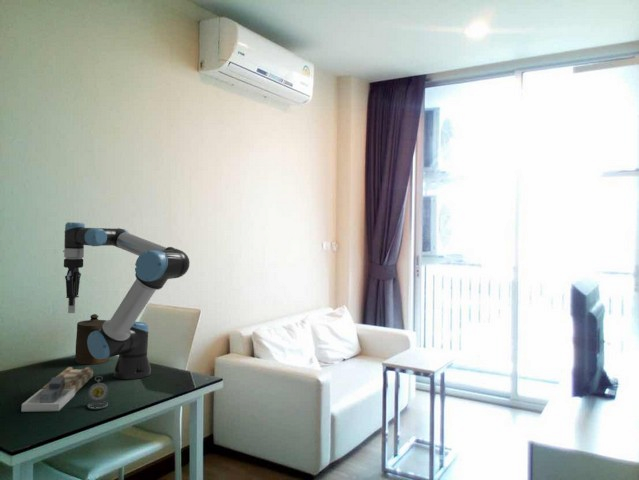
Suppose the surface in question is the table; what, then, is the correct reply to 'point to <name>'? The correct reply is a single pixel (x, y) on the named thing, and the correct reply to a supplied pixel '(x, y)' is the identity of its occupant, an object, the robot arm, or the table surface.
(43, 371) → the table surface
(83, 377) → the slot board
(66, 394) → the tray
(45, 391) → the grey cubic block
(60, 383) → the gray cube
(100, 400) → the pocket watch
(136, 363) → the robot arm
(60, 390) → the grey square block
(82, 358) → the wooden container
